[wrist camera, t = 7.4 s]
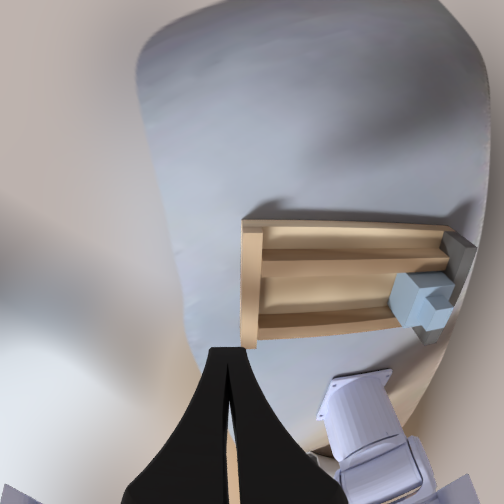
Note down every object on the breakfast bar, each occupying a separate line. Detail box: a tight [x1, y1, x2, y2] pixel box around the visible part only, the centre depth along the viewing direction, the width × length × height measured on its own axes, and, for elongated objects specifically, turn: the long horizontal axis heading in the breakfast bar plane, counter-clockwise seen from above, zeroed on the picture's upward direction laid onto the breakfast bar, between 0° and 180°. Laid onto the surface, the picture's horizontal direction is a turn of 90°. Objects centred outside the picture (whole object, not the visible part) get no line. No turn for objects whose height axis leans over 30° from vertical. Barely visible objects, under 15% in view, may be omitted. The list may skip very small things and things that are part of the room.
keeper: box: [387, 271, 455, 331], centre depth 20 cm, size 4×4×5 cm
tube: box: [306, 451, 340, 478], centre depth 43 cm, size 5×5×25 cm
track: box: [240, 220, 477, 349], centre depth 20 cm, size 10×18×4 cm, turn 88°
